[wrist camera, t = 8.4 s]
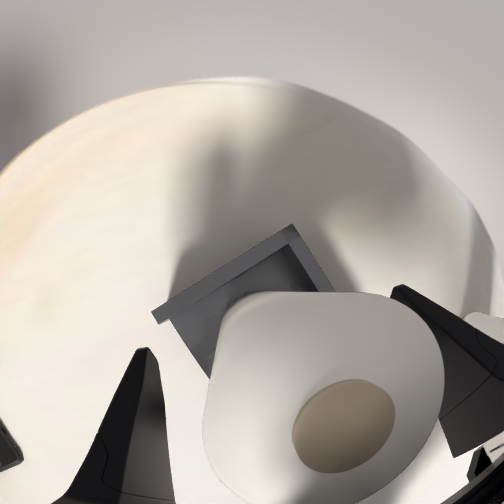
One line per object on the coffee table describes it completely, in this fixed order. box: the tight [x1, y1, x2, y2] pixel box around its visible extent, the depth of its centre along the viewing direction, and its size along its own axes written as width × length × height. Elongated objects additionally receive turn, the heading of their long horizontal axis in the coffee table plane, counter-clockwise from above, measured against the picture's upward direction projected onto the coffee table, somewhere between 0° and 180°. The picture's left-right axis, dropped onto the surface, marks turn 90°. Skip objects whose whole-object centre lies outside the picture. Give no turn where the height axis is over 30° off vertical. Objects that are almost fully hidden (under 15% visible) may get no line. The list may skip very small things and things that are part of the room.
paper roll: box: [202, 291, 444, 504], centre depth 11 cm, size 5×5×13 cm
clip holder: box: [151, 224, 335, 379], centre depth 16 cm, size 9×9×4 cm
